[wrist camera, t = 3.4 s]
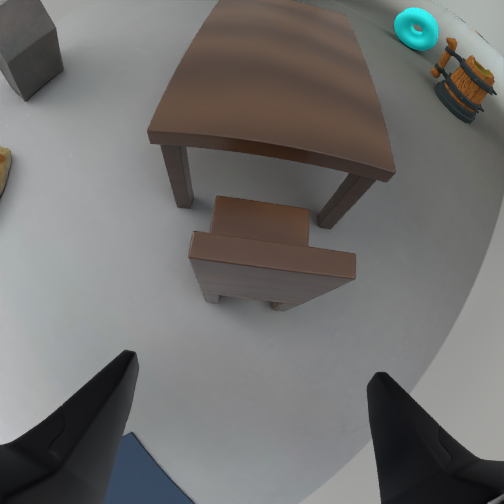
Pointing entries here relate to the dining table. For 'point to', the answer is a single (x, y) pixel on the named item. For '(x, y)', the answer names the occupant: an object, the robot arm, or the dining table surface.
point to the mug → (462, 84)
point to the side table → (276, 97)
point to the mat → (140, 478)
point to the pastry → (4, 166)
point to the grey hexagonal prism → (28, 46)
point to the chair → (264, 255)
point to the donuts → (412, 36)
